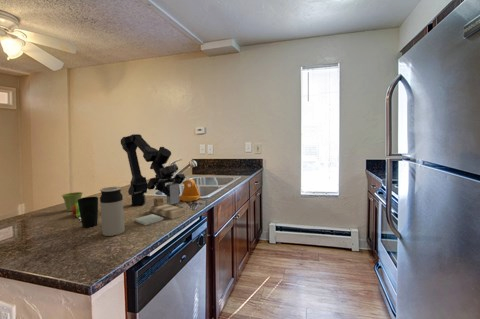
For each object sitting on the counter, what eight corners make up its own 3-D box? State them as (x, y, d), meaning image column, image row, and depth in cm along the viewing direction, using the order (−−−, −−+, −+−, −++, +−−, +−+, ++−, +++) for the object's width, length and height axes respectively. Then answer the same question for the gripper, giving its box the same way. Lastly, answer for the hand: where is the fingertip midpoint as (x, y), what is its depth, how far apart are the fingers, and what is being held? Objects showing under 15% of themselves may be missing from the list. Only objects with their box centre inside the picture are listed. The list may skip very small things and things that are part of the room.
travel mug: (110, 238, 97) (106, 191, 96) (98, 234, 102) (95, 189, 100) (128, 231, 104) (126, 187, 103) (117, 228, 108) (114, 185, 107)
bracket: (178, 201, 152) (177, 181, 150) (183, 198, 159) (182, 179, 158) (196, 201, 150) (195, 181, 149) (200, 198, 157) (199, 179, 156)
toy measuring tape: (86, 211, 134) (85, 199, 134) (90, 221, 119) (89, 207, 118) (72, 214, 131) (71, 201, 130) (74, 224, 115) (73, 209, 114)
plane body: (149, 211, 132) (148, 198, 131) (161, 208, 137) (161, 196, 137) (172, 218, 119) (171, 205, 118) (184, 215, 124) (184, 201, 124)
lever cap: (166, 203, 123) (165, 184, 122) (175, 201, 127) (174, 183, 126) (170, 204, 121) (169, 185, 120) (179, 202, 125) (178, 183, 124)
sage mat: (134, 220, 117) (134, 218, 117) (152, 216, 124) (152, 214, 124) (145, 225, 111) (144, 222, 111) (163, 219, 118) (163, 217, 118)
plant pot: (58, 211, 135) (57, 195, 135) (76, 206, 144) (74, 191, 143) (71, 213, 132) (69, 196, 131) (87, 208, 141) (86, 192, 140)
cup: (78, 230, 107) (76, 201, 106) (80, 224, 113) (78, 198, 112) (99, 226, 110) (97, 199, 109) (100, 221, 117) (98, 195, 116)
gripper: (148, 161, 117) (163, 187, 111) (182, 157, 131) (197, 181, 125) (140, 176, 123) (154, 202, 117) (173, 171, 137) (187, 195, 131)
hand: (174, 194), depth 122 cm, fingers closed on lever cap, 5 cm apart
